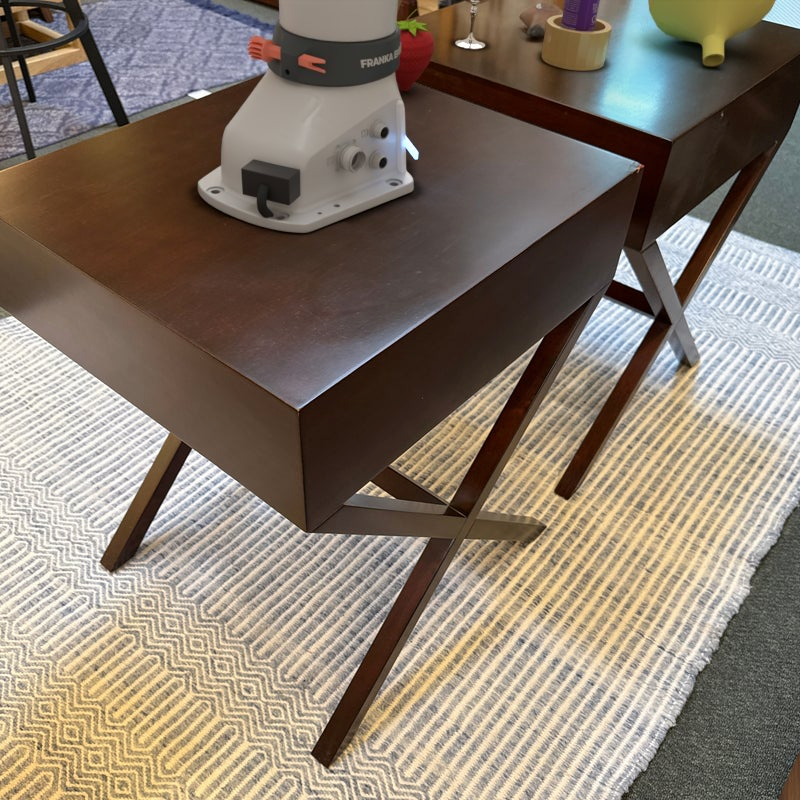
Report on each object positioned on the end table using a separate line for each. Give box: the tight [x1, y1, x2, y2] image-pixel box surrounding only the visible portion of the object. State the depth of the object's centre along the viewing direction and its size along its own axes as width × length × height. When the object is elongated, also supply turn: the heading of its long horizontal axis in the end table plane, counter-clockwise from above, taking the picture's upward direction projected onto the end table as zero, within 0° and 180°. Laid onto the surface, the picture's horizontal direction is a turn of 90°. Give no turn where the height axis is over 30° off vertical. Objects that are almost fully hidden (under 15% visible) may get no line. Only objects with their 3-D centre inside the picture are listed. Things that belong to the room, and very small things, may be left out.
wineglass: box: [454, 0, 489, 50], centre depth 120 cm, size 6×6×12 cm
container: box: [561, 0, 601, 32], centre depth 116 cm, size 5×5×15 cm
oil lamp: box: [518, 2, 563, 38], centre depth 130 cm, size 9×4×8 cm
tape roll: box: [541, 15, 613, 72], centre depth 120 cm, size 9×9×5 cm
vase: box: [647, 0, 777, 67], centre depth 124 cm, size 18×18×19 cm
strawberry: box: [395, 8, 435, 92], centre depth 104 cm, size 6×8×10 cm
